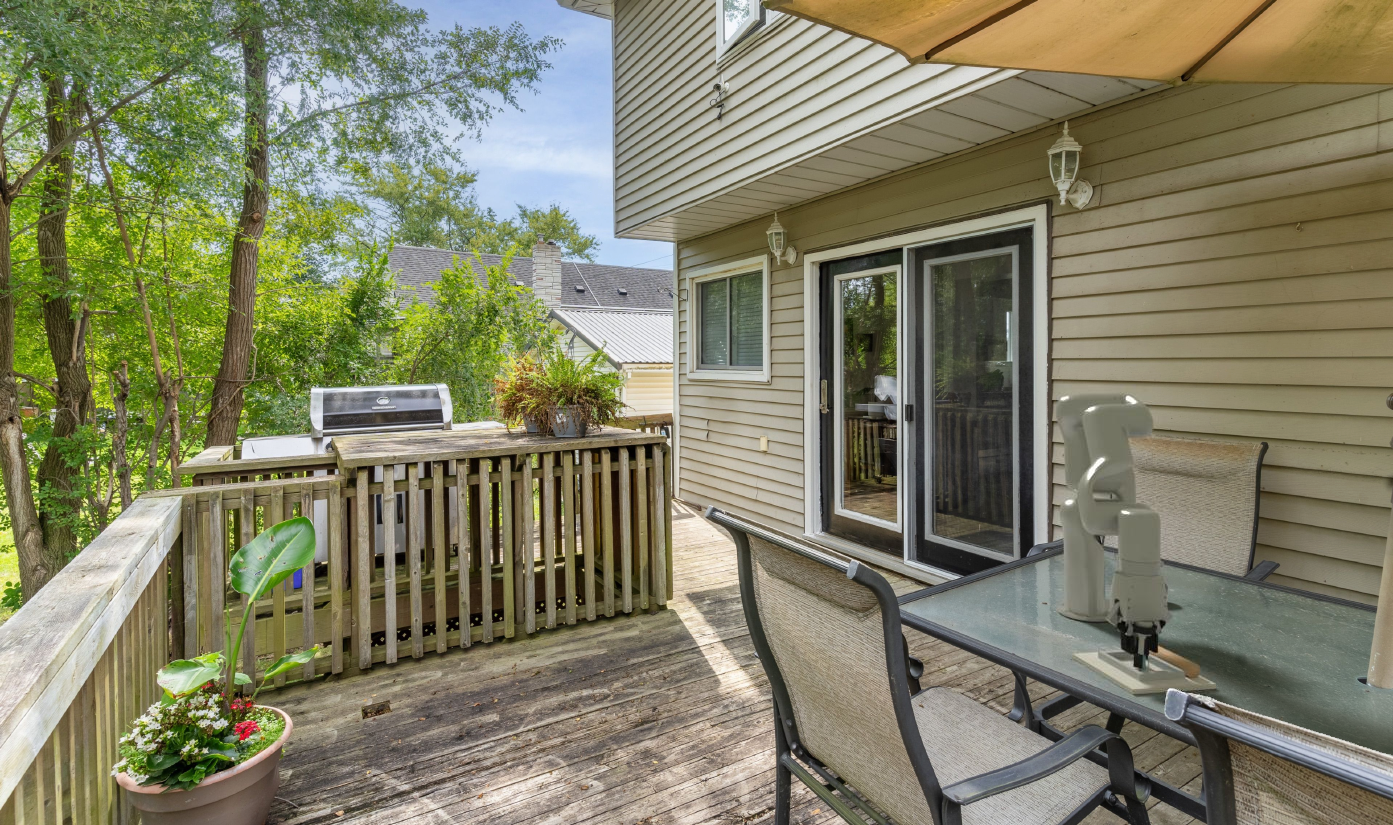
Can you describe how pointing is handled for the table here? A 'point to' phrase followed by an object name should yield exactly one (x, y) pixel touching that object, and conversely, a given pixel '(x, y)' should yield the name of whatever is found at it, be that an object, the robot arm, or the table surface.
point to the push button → (1142, 642)
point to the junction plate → (1146, 671)
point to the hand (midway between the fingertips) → (1139, 650)
